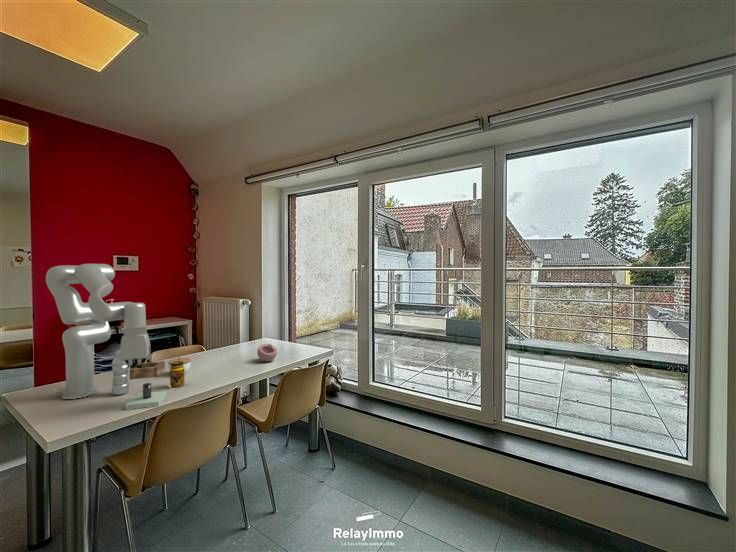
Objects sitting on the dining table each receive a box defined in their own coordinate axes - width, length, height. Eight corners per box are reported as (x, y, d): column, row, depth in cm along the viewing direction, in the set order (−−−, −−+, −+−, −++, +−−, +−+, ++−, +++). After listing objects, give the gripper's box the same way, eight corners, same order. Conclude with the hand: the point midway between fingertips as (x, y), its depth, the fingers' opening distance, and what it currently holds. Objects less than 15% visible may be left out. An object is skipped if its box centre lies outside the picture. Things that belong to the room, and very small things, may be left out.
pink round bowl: (266, 365, 191) (266, 346, 191) (253, 362, 197) (253, 343, 197) (281, 360, 201) (281, 342, 201) (268, 357, 208) (268, 340, 207)
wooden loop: (129, 379, 131) (129, 369, 131) (139, 372, 140) (138, 363, 140) (157, 376, 134) (157, 367, 134) (164, 369, 143) (164, 361, 143)
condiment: (174, 390, 152) (173, 365, 151) (164, 386, 156) (164, 362, 155) (189, 385, 158) (188, 361, 158) (179, 382, 162) (179, 358, 162)
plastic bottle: (127, 389, 151) (126, 348, 150) (131, 393, 147) (130, 350, 146) (109, 394, 146) (109, 351, 145) (113, 397, 142) (113, 353, 141)
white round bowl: (164, 375, 172) (164, 358, 172) (183, 369, 181) (183, 353, 181) (176, 378, 167) (176, 361, 167) (195, 372, 176) (195, 356, 176)
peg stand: (125, 409, 130) (124, 390, 130) (136, 398, 141) (136, 380, 141) (158, 406, 134) (158, 387, 133) (167, 395, 145) (167, 378, 145)
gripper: (109, 334, 130) (110, 379, 130) (153, 331, 134) (154, 374, 135) (117, 331, 137) (119, 373, 137) (159, 328, 141) (160, 369, 142)
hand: (136, 373), depth 136 cm, fingers closed on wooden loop, 1 cm apart
